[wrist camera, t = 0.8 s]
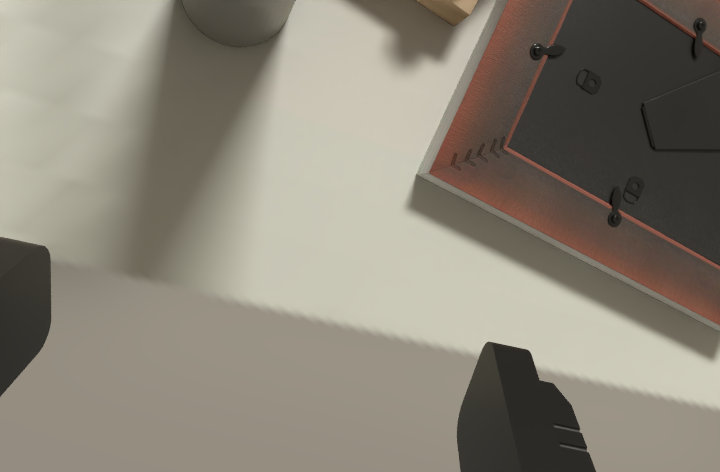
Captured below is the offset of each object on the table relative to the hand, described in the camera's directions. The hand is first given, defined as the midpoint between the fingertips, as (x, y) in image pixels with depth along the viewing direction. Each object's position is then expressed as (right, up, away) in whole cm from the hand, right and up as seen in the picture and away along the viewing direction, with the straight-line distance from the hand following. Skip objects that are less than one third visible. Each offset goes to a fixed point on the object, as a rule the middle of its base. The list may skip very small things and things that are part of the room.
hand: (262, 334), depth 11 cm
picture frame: (+17, +8, +24) cm, 31 cm away
